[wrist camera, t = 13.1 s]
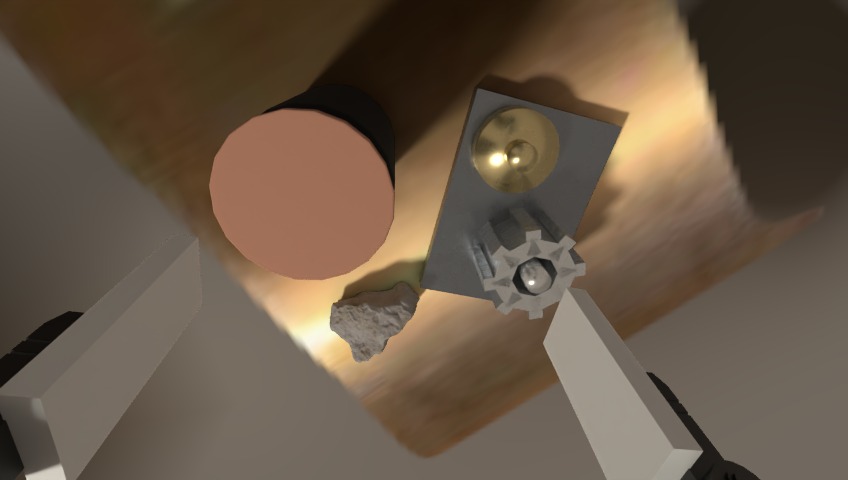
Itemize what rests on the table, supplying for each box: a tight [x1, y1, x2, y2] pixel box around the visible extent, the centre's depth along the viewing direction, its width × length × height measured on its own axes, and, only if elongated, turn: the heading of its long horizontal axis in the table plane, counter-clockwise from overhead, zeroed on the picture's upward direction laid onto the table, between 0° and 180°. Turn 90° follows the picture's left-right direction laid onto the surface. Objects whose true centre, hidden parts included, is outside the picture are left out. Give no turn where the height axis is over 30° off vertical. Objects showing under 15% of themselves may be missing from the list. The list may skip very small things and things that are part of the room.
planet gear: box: [473, 207, 586, 319], centre depth 42 cm, size 10×10×6 cm
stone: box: [330, 282, 419, 363], centre depth 46 cm, size 10×8×6 cm
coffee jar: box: [209, 84, 395, 280], centre depth 32 cm, size 11×11×18 cm
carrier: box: [420, 87, 622, 301], centre depth 40 cm, size 22×15×8 cm
